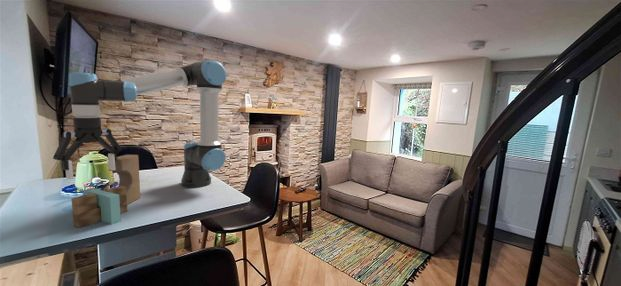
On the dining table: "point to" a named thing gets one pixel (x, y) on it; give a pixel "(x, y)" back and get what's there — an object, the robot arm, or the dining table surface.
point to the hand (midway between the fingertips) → (92, 174)
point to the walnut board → (94, 207)
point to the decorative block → (129, 175)
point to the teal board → (106, 204)
